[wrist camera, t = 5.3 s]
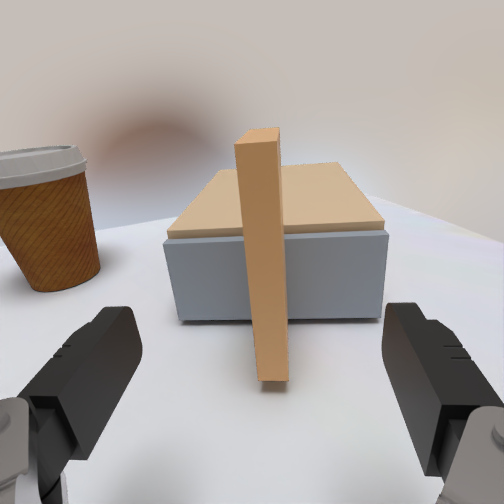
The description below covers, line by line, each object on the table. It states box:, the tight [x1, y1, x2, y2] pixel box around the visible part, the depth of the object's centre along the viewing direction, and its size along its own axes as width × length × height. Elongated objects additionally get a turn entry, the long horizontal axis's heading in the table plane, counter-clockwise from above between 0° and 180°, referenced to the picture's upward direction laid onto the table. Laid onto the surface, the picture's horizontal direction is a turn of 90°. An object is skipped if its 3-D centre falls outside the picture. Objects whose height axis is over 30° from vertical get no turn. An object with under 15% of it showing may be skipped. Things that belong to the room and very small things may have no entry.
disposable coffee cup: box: [0, 145, 100, 292], centre depth 31 cm, size 10×10×12 cm
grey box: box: [163, 127, 389, 381], centre depth 27 cm, size 26×14×12 cm, turn 175°
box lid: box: [167, 162, 385, 239], centre depth 32 cm, size 20×14×7 cm
